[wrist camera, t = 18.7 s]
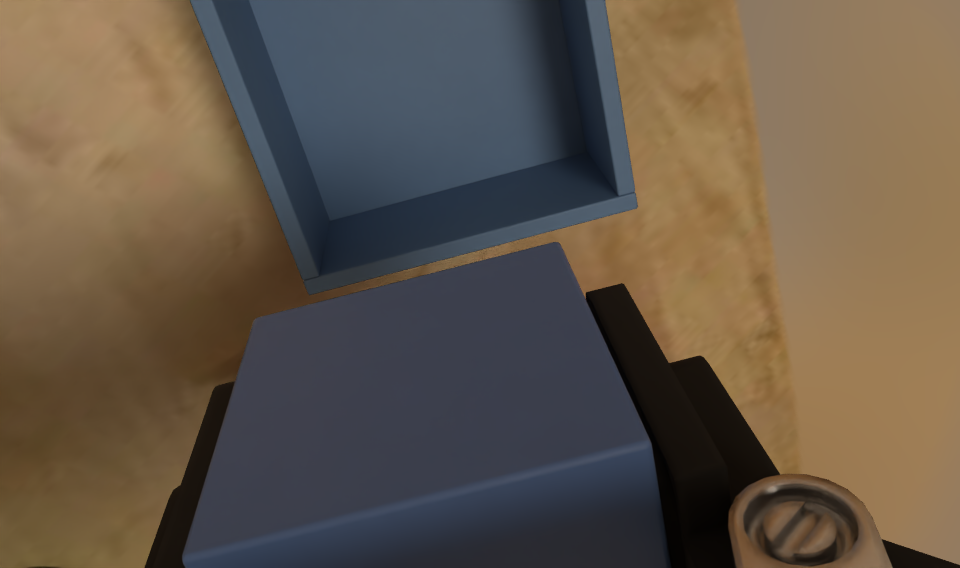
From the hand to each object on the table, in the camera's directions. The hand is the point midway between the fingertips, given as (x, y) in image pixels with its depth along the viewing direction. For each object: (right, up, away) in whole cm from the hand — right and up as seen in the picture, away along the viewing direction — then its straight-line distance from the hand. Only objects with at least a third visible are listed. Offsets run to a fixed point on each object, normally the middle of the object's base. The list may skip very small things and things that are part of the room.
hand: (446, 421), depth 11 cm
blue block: (0, 0, 0) cm, 1 cm away
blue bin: (-1, +9, +12) cm, 15 cm away
